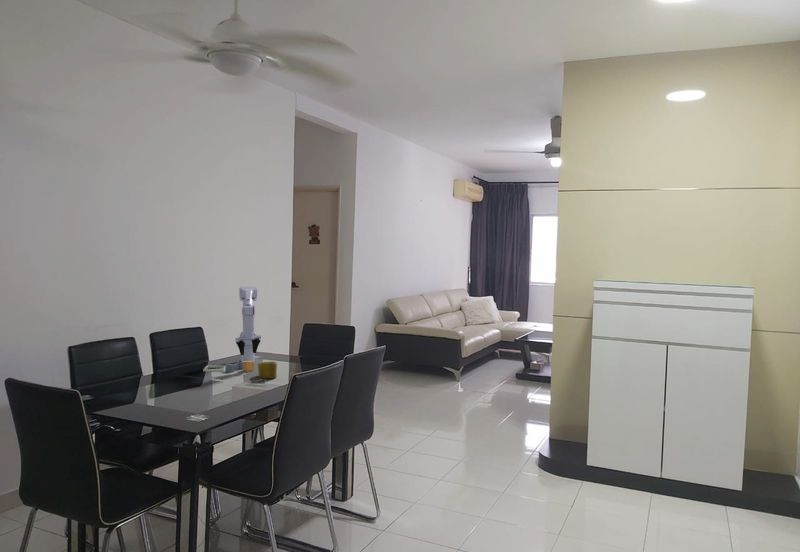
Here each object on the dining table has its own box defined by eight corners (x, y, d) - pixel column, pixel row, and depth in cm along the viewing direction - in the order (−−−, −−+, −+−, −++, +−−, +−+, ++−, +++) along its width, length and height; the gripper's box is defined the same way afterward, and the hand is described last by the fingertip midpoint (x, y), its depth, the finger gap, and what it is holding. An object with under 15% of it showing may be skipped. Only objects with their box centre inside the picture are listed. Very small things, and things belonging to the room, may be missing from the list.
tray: (206, 369, 324) (206, 365, 324) (226, 368, 326) (226, 365, 325) (203, 373, 314) (203, 369, 313) (223, 372, 315) (224, 369, 315)
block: (243, 370, 317) (243, 361, 317) (249, 369, 320) (249, 360, 320) (247, 372, 315) (247, 362, 314) (253, 370, 318) (253, 361, 317)
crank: (239, 367, 325) (239, 359, 325) (246, 368, 324) (246, 359, 323) (225, 371, 314) (225, 363, 314) (232, 372, 312) (232, 363, 312)
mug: (277, 376, 299) (272, 357, 301) (258, 382, 300) (253, 363, 301) (284, 376, 311) (279, 357, 313) (265, 382, 312) (260, 363, 313)
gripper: (240, 330, 308) (240, 356, 309) (264, 327, 319) (264, 353, 320) (233, 329, 313) (233, 354, 314) (256, 326, 324) (256, 351, 324)
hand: (248, 353), depth 317 cm, fingers open, 7 cm apart
